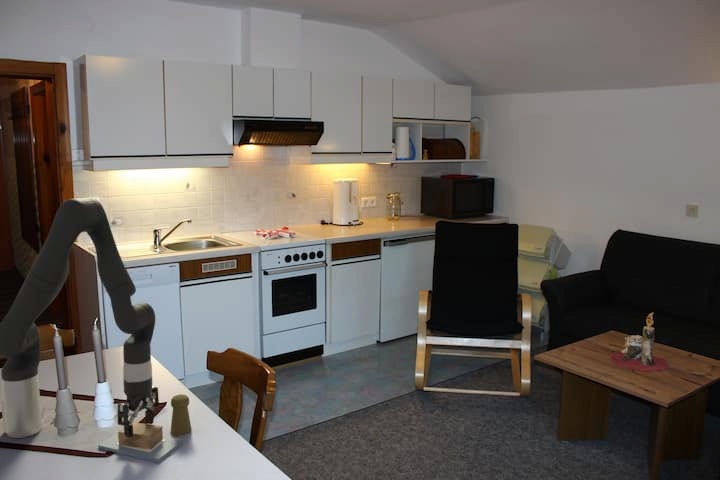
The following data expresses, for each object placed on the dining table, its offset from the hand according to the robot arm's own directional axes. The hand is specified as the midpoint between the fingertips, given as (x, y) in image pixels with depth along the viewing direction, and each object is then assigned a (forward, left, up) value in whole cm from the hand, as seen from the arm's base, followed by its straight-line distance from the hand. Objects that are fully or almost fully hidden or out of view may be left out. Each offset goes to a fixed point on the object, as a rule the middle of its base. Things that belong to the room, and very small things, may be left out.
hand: (139, 430), depth 174 cm
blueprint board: (0, 0, -5) cm, 5 cm away
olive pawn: (+5, +12, -5) cm, 14 cm away
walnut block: (0, 0, -4) cm, 4 cm away
